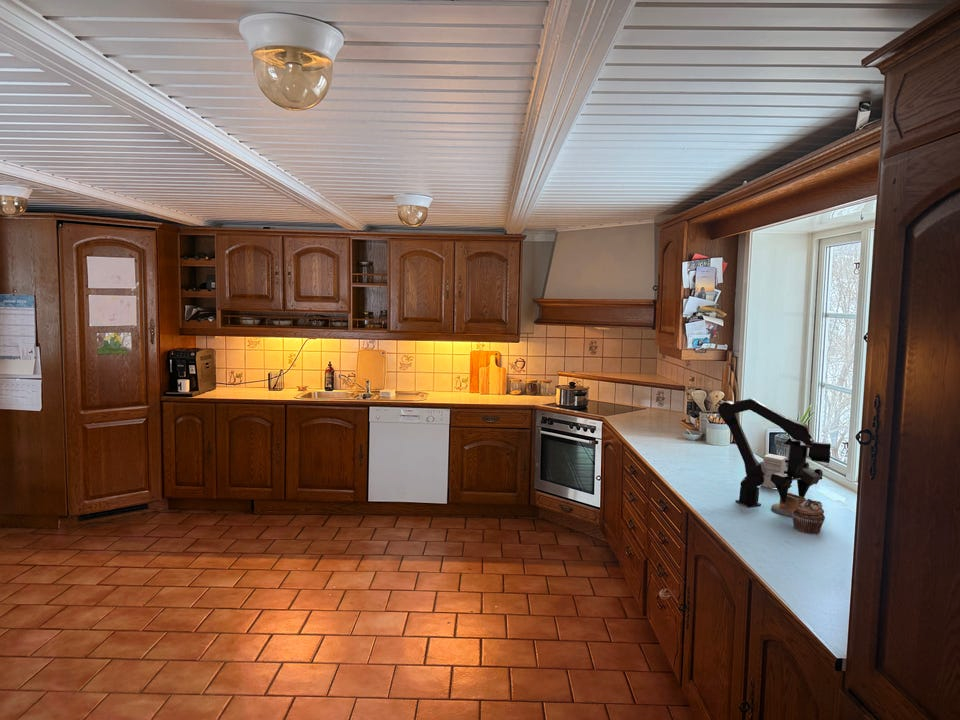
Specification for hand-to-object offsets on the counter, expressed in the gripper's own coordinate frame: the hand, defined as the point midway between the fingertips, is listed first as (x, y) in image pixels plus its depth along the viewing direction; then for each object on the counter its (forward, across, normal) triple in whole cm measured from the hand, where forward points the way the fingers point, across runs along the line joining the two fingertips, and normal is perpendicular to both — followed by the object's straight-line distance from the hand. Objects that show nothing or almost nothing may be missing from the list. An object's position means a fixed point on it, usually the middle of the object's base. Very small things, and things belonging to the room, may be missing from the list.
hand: (792, 501), depth 235 cm
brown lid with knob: (+4, 0, 0) cm, 4 cm away
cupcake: (+4, -12, -15) cm, 19 cm away
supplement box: (+4, +22, +26) cm, 34 cm away
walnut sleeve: (+3, 0, 0) cm, 3 cm away
